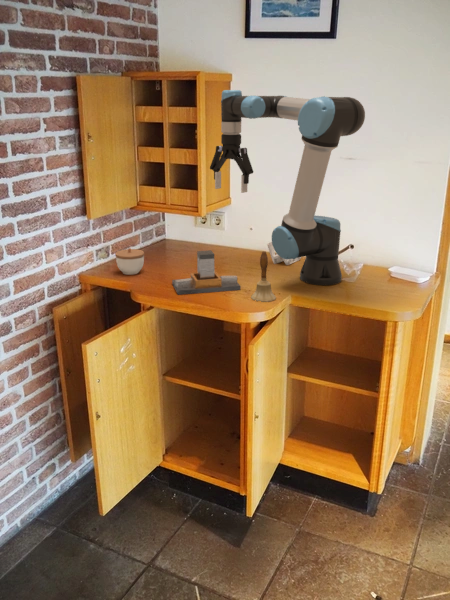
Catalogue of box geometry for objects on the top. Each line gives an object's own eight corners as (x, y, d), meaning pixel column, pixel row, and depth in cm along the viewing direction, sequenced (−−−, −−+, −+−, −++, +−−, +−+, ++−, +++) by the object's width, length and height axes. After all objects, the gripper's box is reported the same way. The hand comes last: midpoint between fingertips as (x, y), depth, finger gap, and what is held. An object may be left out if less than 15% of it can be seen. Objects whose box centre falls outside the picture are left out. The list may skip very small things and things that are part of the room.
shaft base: (231, 279, 206) (231, 269, 205) (240, 289, 195) (240, 278, 194) (172, 283, 201) (172, 273, 200) (177, 294, 190) (177, 283, 189)
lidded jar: (144, 267, 220) (143, 244, 217) (145, 275, 210) (144, 251, 207) (116, 268, 218) (115, 245, 215) (116, 277, 208) (114, 252, 205)
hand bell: (258, 303, 183) (259, 256, 177) (247, 295, 190) (247, 249, 184) (280, 300, 186) (282, 253, 180) (268, 292, 193) (270, 247, 187)
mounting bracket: (290, 262, 234) (282, 237, 233) (302, 258, 230) (294, 233, 229) (275, 269, 225) (266, 243, 224) (288, 265, 221) (279, 239, 220)
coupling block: (211, 280, 200) (211, 250, 197) (214, 284, 196) (214, 254, 192) (197, 281, 199) (197, 251, 196) (200, 285, 195) (200, 254, 191)
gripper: (263, 134, 206) (262, 192, 213) (213, 131, 222) (214, 185, 229) (250, 135, 201) (249, 195, 208) (200, 132, 216) (201, 187, 224)
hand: (230, 190), depth 219 cm, fingers open, 13 cm apart
